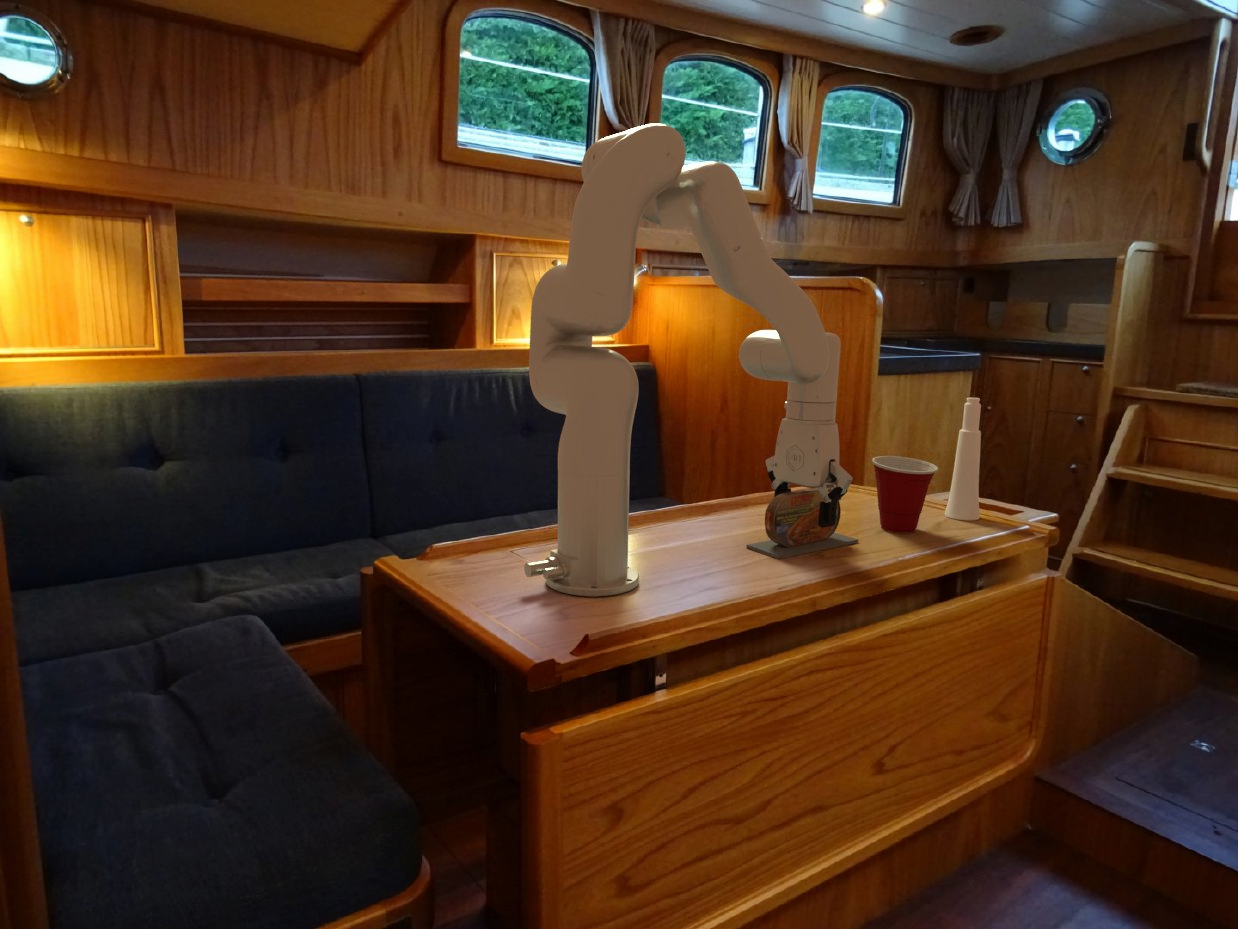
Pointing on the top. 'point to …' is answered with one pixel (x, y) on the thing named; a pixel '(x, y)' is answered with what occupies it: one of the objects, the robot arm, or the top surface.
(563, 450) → the robot arm
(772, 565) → the top surface
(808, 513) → the tin
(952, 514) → the cosmetic bottle
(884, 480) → the plastic cup
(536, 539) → the top surface
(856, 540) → the mat
